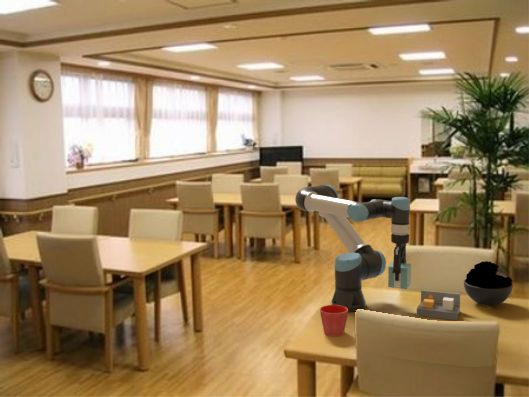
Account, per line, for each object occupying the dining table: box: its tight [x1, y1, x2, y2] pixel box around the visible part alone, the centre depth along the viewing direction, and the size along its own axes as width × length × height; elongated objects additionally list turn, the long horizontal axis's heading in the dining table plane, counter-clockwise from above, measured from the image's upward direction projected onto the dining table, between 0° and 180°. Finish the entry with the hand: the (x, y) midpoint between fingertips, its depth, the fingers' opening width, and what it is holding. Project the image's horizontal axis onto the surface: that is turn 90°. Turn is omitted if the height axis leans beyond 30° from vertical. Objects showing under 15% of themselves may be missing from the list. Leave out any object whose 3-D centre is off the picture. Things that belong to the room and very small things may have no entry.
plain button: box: [443, 297, 454, 311], centre depth 228 cm, size 4×4×5 cm
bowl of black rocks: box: [463, 260, 514, 307], centre depth 239 cm, size 20×20×19 cm
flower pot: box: [319, 304, 349, 337], centre depth 212 cm, size 11×11×10 cm
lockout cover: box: [387, 261, 412, 290], centre depth 235 cm, size 8×8×9 cm
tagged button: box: [423, 299, 434, 308], centre depth 231 cm, size 4×4×5 cm
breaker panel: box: [416, 289, 461, 321], centre depth 230 cm, size 16×12×8 cm
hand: (399, 284), depth 236 cm, fingers closed on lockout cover, 8 cm apart
